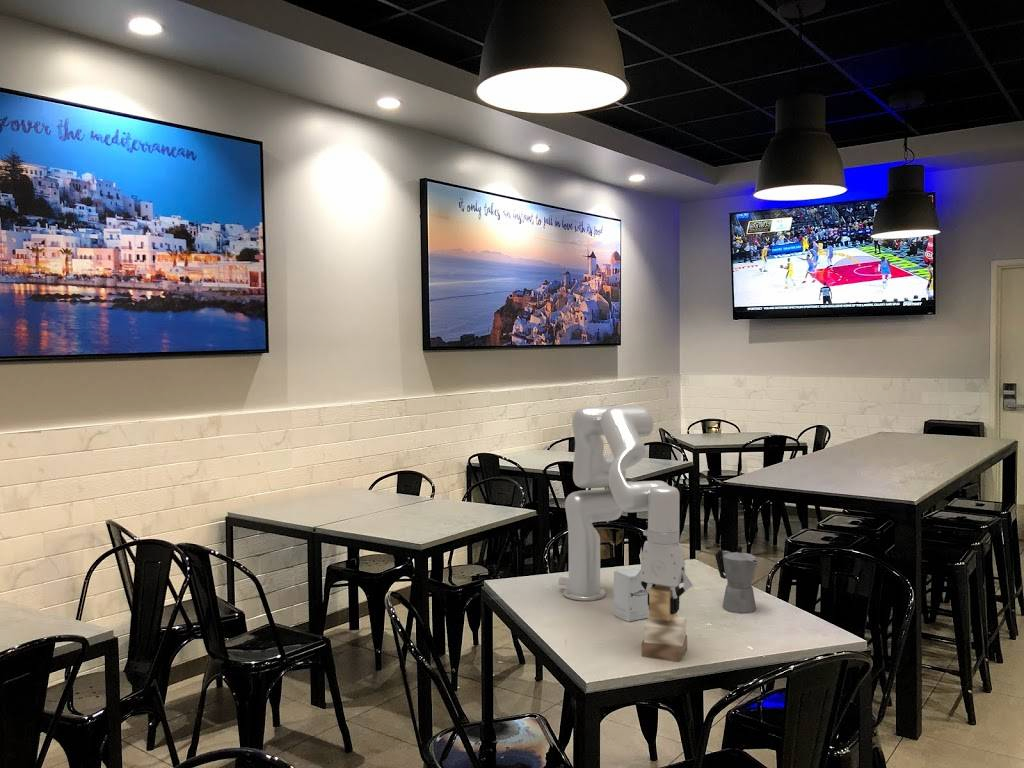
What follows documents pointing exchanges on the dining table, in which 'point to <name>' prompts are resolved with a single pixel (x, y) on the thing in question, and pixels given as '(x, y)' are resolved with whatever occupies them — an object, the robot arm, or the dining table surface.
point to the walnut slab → (664, 651)
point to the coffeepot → (738, 580)
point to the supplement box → (629, 596)
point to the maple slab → (665, 631)
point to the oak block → (660, 602)
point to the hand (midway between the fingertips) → (663, 610)
